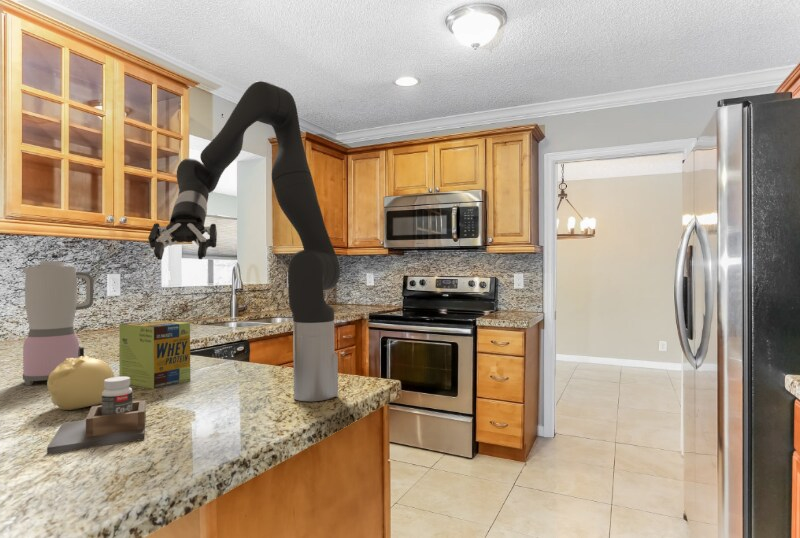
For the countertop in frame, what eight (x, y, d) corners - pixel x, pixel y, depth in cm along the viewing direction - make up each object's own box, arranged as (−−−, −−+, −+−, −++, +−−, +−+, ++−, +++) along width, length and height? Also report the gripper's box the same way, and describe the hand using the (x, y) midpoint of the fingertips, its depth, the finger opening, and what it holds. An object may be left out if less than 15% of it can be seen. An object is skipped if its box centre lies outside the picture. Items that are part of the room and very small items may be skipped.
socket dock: (145, 417, 92) (145, 396, 92) (144, 439, 79) (144, 415, 79) (62, 428, 86) (62, 406, 86) (47, 454, 73) (47, 428, 73)
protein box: (154, 389, 114) (153, 326, 114) (118, 382, 122) (118, 323, 122) (191, 380, 123) (191, 322, 124) (156, 375, 131) (156, 319, 131)
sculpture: (57, 402, 103) (56, 353, 103) (119, 396, 108) (118, 350, 108) (38, 417, 93) (38, 363, 93) (108, 410, 97) (108, 358, 97)
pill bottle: (118, 430, 81) (118, 382, 81) (95, 428, 82) (95, 381, 82) (138, 421, 86) (138, 376, 86) (116, 420, 87) (116, 375, 87)
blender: (19, 388, 117) (19, 260, 117) (24, 379, 127) (24, 262, 127) (94, 379, 126) (93, 261, 126) (93, 371, 136) (93, 262, 136)
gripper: (155, 199, 111) (140, 244, 100) (218, 200, 115) (211, 244, 103) (161, 224, 116) (148, 269, 105) (221, 224, 120) (215, 268, 108)
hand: (179, 256), depth 104 cm, fingers open, 8 cm apart
